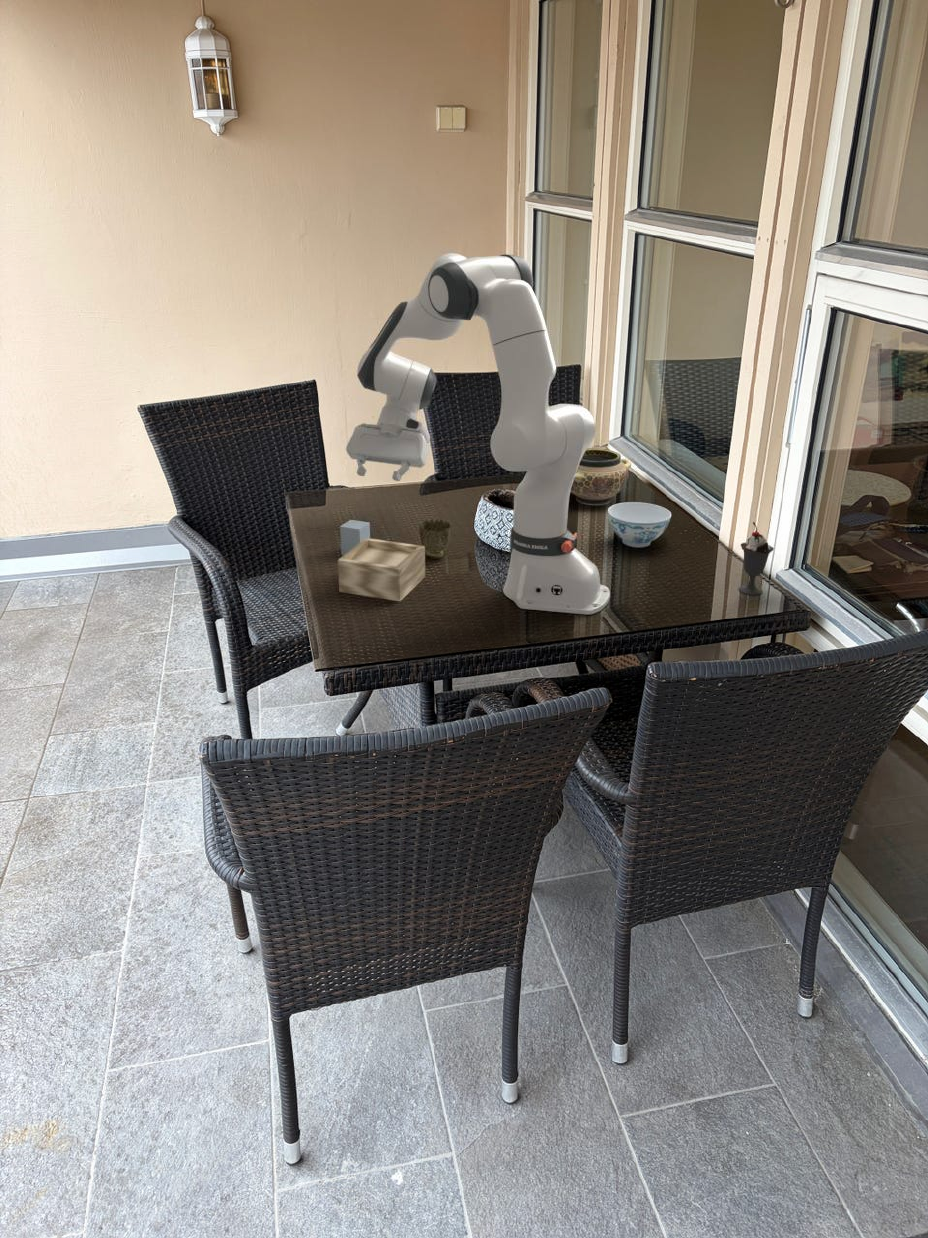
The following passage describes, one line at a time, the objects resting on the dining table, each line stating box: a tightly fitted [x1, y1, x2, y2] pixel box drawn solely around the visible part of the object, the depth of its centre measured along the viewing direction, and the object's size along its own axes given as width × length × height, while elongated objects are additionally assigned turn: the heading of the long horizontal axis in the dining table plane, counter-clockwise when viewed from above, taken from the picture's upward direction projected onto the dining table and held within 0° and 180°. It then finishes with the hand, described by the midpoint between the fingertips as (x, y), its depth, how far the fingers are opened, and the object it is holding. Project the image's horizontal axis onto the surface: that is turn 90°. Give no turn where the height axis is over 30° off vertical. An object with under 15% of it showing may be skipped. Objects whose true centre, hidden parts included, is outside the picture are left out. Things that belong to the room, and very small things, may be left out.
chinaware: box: [607, 501, 672, 548], centre depth 224 cm, size 15×15×8 cm
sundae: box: [738, 521, 775, 596], centre depth 197 cm, size 7×7×15 cm
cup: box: [418, 518, 452, 560], centre depth 214 cm, size 8×7×8 cm
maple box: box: [337, 537, 426, 602], centre depth 200 cm, size 14×14×8 cm
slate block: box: [339, 519, 371, 556], centre depth 216 cm, size 5×5×7 cm
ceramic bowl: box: [570, 447, 632, 506], centre depth 251 cm, size 24×18×15 cm
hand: (377, 477), depth 222 cm, fingers open, 8 cm apart
